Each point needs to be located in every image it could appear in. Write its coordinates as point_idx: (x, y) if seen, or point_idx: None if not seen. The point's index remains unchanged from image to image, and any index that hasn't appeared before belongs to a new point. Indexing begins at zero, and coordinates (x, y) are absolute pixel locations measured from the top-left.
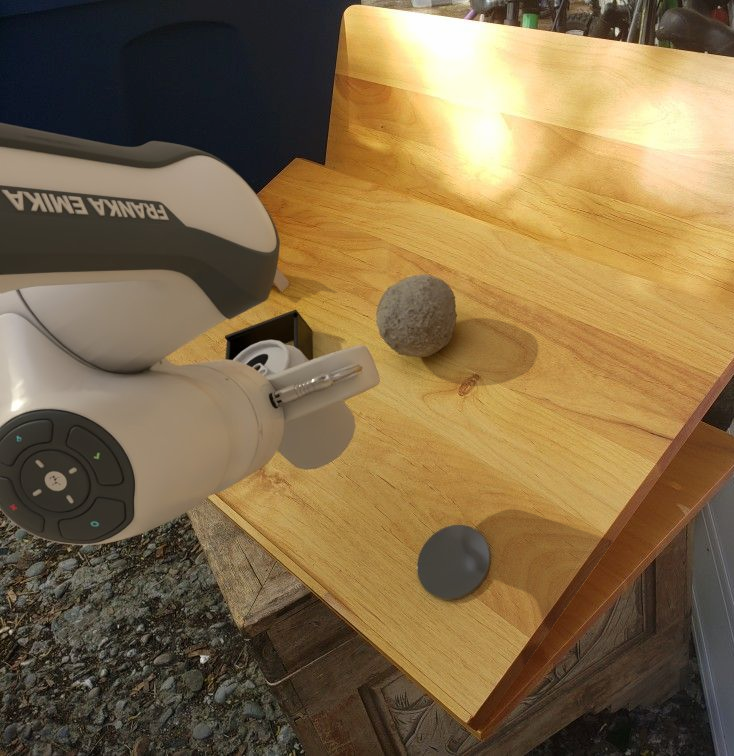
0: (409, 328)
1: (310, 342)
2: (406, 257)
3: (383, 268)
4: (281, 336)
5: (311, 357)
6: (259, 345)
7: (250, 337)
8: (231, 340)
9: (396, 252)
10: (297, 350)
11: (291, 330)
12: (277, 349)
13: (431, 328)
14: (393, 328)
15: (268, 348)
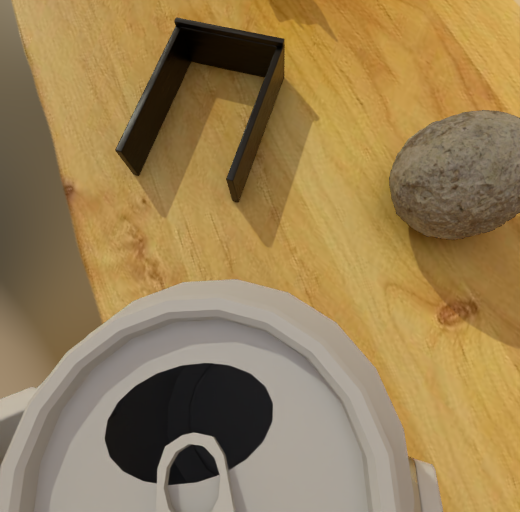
0: (457, 207)
1: (275, 95)
2: (448, 46)
3: (411, 43)
4: (244, 62)
5: (267, 118)
6: (257, 326)
7: (206, 40)
8: (181, 29)
9: (438, 30)
10: (397, 432)
11: (260, 63)
12: (329, 410)
13: (482, 222)
14: (433, 191)
15: (288, 363)
